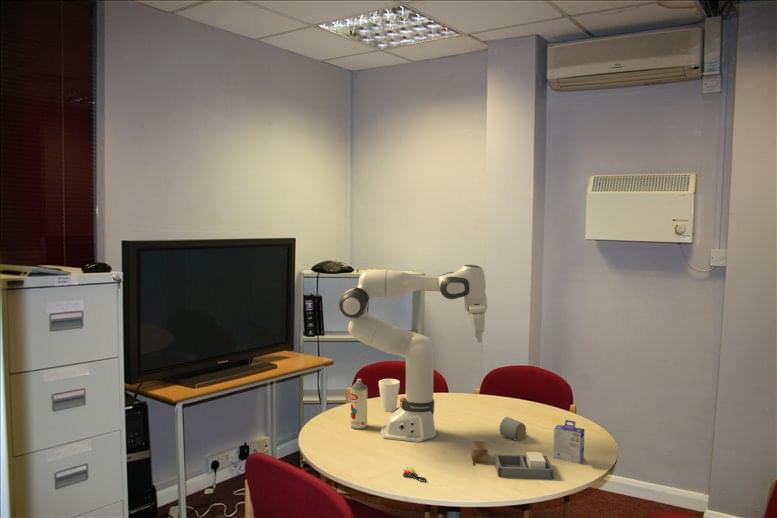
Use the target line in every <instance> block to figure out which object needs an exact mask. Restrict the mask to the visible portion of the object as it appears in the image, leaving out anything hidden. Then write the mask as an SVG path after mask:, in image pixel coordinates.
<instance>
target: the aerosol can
mask: <svg viewBox="0 0 777 518" xmlns="http://www.w3.org/2000/svg"><path fill="white" fill-rule="evenodd" d="M367 427H368V386H367V385H365V383H364V382H363V381H362V378H357V379H356V381H355V383H353V385H351V388H350V428H351V429H353V430H361V431H362V430H365V429H367Z"/></svg>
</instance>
